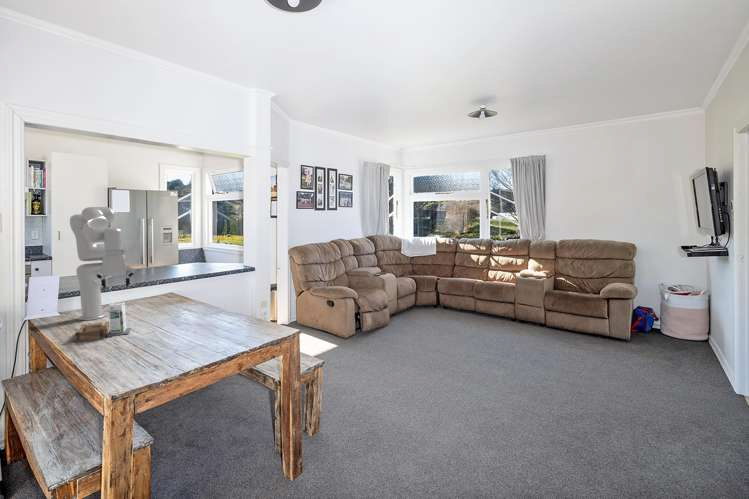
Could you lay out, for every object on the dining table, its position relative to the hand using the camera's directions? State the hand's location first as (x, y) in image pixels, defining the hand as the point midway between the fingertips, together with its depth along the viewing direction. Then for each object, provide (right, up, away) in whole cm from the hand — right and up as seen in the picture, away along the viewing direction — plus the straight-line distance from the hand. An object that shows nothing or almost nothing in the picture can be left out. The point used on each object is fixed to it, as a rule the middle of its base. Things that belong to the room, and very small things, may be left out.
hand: (116, 286), depth 193 cm
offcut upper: (-12, -21, +2) cm, 24 cm away
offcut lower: (-12, -24, +2) cm, 27 cm away
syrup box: (0, -23, +2) cm, 23 cm away
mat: (0, -24, +2) cm, 24 cm away
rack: (-10, -24, -2) cm, 26 cm away
